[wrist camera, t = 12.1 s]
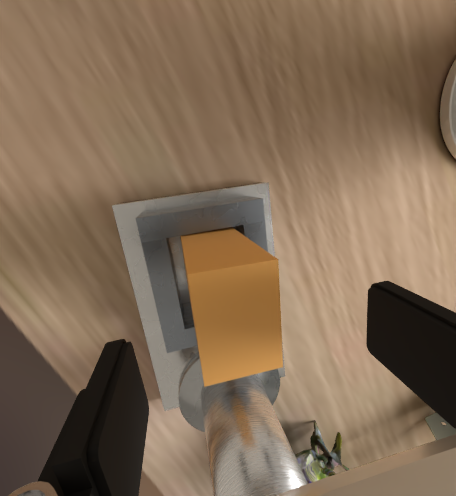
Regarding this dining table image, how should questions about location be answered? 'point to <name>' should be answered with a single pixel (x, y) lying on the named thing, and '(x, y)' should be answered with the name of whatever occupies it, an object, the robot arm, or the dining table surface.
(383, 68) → the dining table surface
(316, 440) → the passion flower
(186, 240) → the tan rectangular block
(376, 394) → the dining table surface
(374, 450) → the dining table surface
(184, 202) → the gray socket post fixture
